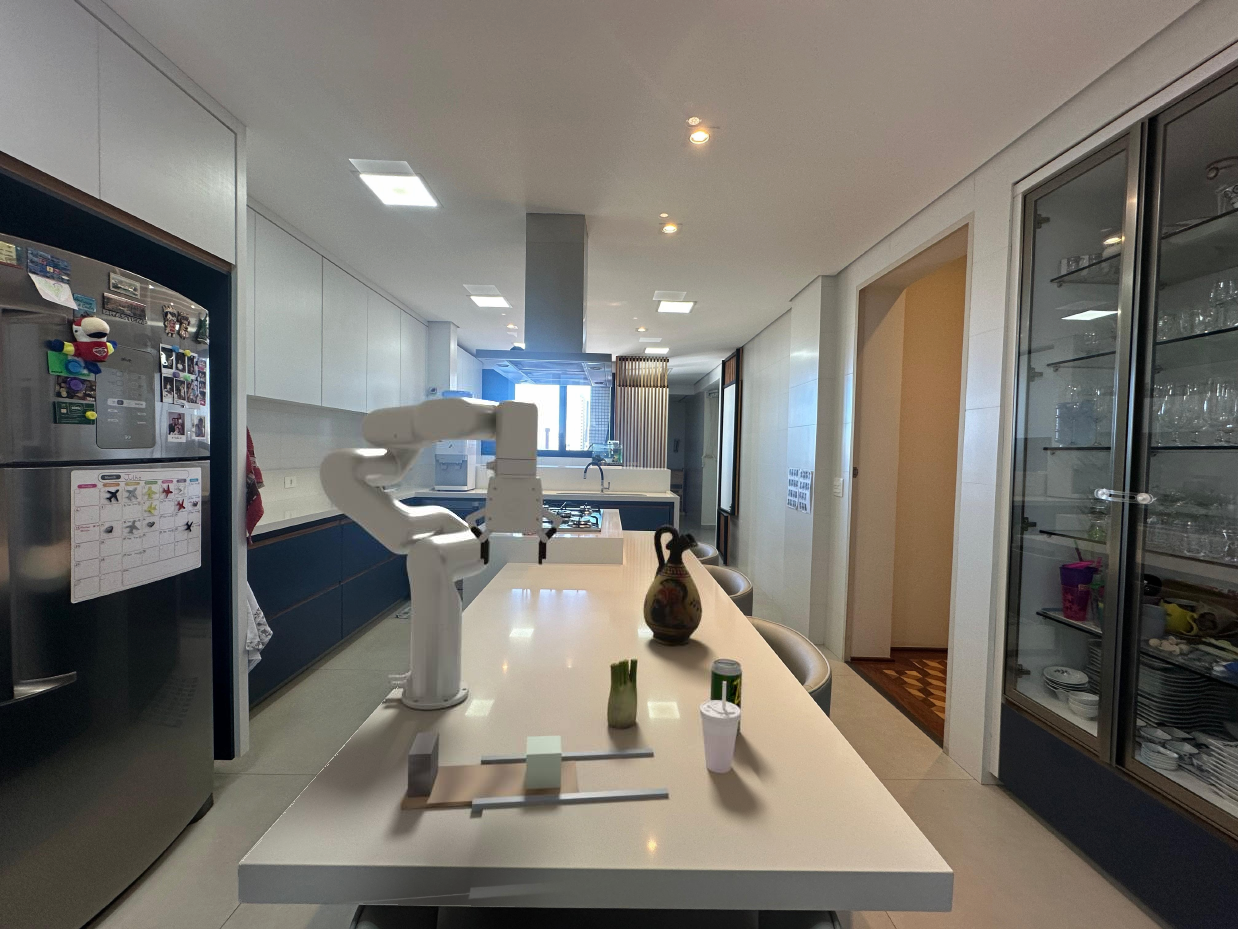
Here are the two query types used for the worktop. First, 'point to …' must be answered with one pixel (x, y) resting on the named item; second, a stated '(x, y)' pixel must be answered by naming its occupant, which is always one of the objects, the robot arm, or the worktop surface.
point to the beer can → (727, 682)
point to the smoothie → (719, 732)
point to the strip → (469, 778)
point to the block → (543, 762)
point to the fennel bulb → (623, 695)
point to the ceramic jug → (672, 592)
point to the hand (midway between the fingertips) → (513, 563)
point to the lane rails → (568, 797)
